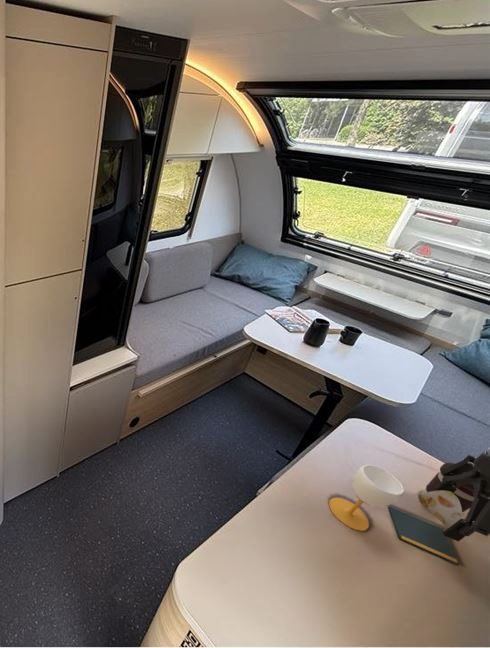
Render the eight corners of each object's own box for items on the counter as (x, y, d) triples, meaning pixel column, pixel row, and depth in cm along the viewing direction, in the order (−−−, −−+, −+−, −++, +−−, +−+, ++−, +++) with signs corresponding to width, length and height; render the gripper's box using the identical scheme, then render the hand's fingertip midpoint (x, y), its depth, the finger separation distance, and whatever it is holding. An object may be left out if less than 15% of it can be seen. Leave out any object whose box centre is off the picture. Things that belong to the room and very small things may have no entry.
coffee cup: (445, 528, 97) (485, 496, 89) (404, 494, 105) (438, 462, 97) (466, 519, 100) (508, 488, 92) (425, 487, 108) (460, 455, 100)
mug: (448, 542, 86) (446, 502, 86) (413, 517, 95) (411, 480, 95) (485, 543, 85) (483, 503, 84) (446, 517, 94) (444, 481, 94)
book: (442, 529, 97) (443, 528, 96) (458, 565, 89) (460, 564, 89) (387, 506, 101) (388, 505, 101) (399, 539, 93) (400, 538, 93)
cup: (325, 512, 98) (358, 477, 90) (332, 491, 104) (363, 456, 95) (366, 538, 93) (404, 503, 84) (370, 515, 98) (406, 480, 90)
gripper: (463, 422, 90) (407, 476, 101) (515, 497, 72) (440, 551, 83) (503, 435, 87) (441, 489, 98) (567, 516, 69) (483, 570, 81)
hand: (441, 517), depth 91 cm, fingers closed on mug, 10 cm apart
